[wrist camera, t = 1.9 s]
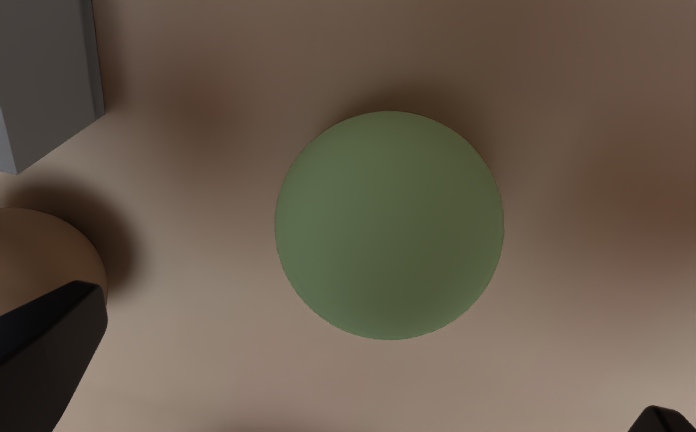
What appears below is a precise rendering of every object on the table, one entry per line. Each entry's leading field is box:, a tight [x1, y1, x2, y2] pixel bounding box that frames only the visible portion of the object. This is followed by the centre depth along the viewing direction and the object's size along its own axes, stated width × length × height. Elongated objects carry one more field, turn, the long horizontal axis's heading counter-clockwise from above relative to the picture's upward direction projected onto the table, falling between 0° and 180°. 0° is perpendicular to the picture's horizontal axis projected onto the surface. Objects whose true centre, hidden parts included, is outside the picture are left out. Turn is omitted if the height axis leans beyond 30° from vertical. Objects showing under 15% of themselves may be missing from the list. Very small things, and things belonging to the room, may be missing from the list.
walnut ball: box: [0, 208, 108, 315], centre depth 15 cm, size 5×5×5 cm
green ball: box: [275, 111, 504, 340], centre depth 12 cm, size 5×5×5 cm
